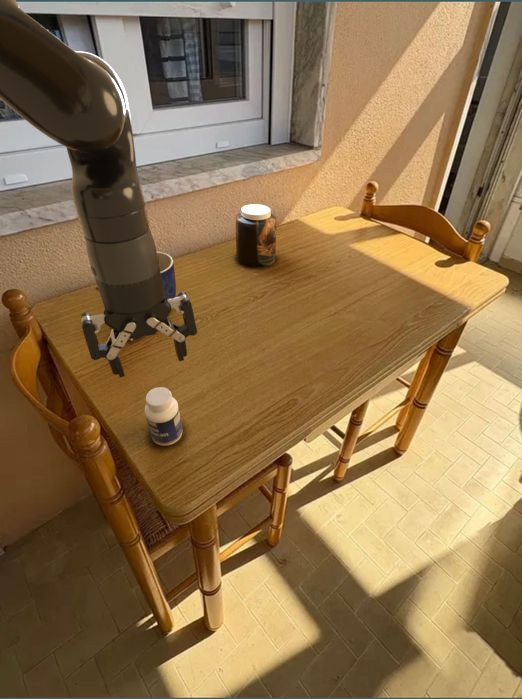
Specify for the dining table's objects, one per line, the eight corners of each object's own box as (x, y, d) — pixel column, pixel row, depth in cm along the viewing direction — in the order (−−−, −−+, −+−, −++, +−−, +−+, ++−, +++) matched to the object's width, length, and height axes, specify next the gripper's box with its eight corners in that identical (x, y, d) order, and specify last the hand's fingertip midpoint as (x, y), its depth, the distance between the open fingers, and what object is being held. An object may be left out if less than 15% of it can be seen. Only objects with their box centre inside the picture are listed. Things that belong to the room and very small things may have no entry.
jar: (234, 267, 111) (232, 216, 101) (238, 249, 120) (236, 201, 110) (274, 268, 111) (276, 218, 101) (275, 250, 120) (277, 202, 110)
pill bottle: (147, 445, 64) (135, 407, 58) (157, 420, 68) (147, 382, 62) (178, 448, 64) (170, 410, 58) (186, 422, 68) (179, 385, 62)
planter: (175, 315, 93) (168, 276, 85) (123, 315, 92) (113, 276, 85) (182, 288, 102) (176, 251, 95) (135, 288, 102) (126, 250, 95)
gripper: (177, 242, 50) (191, 338, 60) (60, 263, 46) (98, 362, 56) (193, 269, 45) (205, 368, 55) (62, 294, 40) (103, 397, 51)
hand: (151, 365), depth 56 cm, fingers open, 8 cm apart
